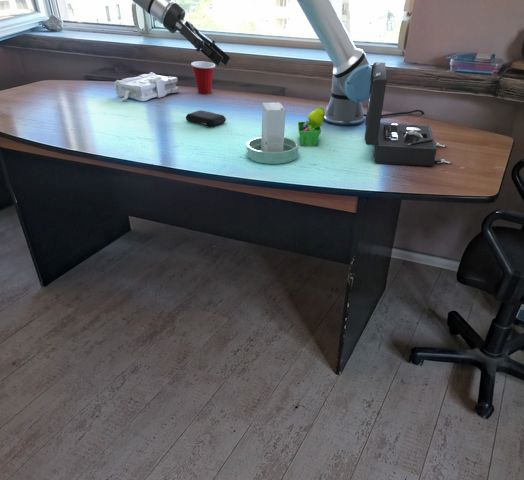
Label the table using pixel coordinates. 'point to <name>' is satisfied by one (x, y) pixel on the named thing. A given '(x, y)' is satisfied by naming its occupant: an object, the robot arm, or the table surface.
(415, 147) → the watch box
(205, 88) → the plastic cup
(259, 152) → the bowl
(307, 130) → the fruit basket
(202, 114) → the carrying case
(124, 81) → the white irregular flat block
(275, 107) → the cosmetic box
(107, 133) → the table surface
